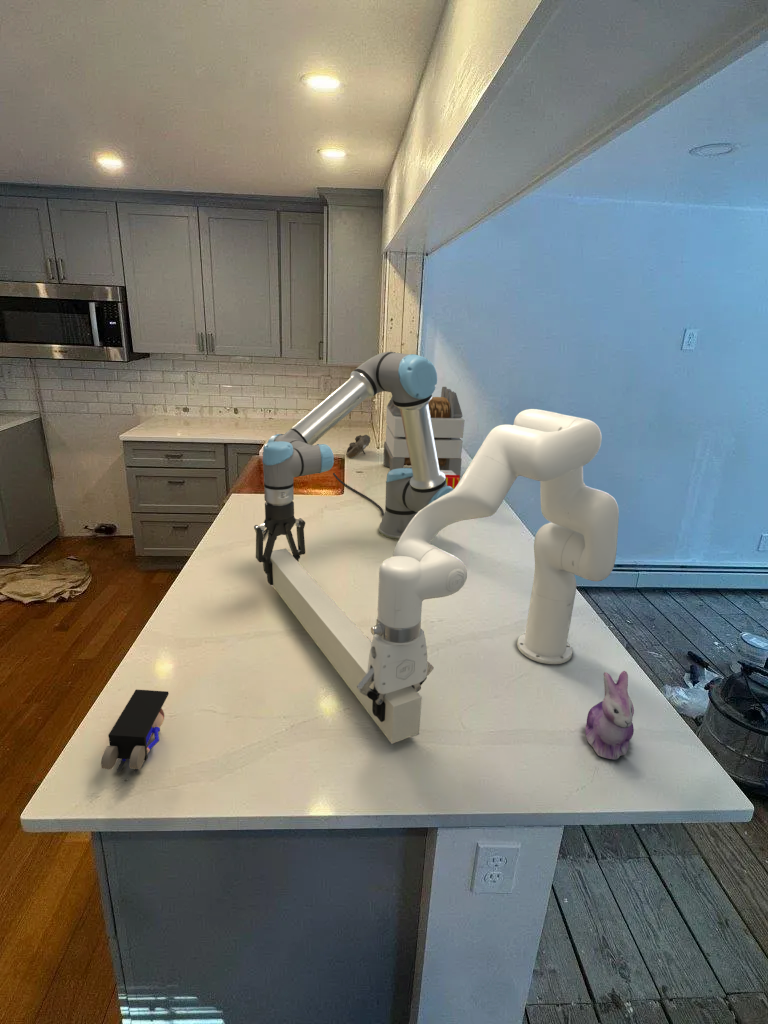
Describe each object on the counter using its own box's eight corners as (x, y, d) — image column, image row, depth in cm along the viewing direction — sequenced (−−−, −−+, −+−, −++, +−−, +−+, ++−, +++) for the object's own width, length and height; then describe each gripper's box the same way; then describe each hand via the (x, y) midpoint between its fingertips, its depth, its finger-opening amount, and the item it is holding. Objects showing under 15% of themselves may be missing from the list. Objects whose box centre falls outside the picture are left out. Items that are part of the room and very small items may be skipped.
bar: (266, 578, 158) (265, 551, 156) (286, 574, 161) (285, 548, 158) (391, 744, 100) (393, 706, 98) (419, 733, 103) (421, 696, 100)
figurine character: (145, 787, 93) (174, 717, 107) (138, 755, 90) (169, 687, 103) (104, 787, 93) (138, 716, 107) (95, 754, 90) (132, 686, 103)
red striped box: (452, 466, 252) (464, 476, 223) (451, 496, 255) (462, 509, 226) (425, 465, 252) (433, 475, 222) (424, 495, 254) (431, 508, 225)
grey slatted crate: (382, 463, 289) (386, 382, 275) (445, 464, 293) (451, 384, 279) (390, 482, 257) (394, 392, 243) (460, 483, 261) (468, 394, 247)
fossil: (346, 440, 314) (367, 425, 309) (357, 454, 317) (378, 439, 312) (340, 454, 295) (362, 438, 290) (351, 468, 298) (374, 453, 293)
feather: (281, 515, 215) (284, 511, 215) (262, 541, 189) (264, 536, 188) (277, 512, 215) (280, 508, 215) (257, 538, 189) (260, 534, 188)
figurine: (612, 770, 99) (628, 699, 94) (570, 732, 108) (582, 666, 103) (649, 753, 104) (666, 685, 99) (605, 718, 112) (619, 654, 107)
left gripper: (247, 510, 141) (252, 593, 149) (318, 501, 149) (318, 579, 157) (239, 501, 147) (244, 581, 155) (307, 492, 156) (308, 569, 164)
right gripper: (364, 650, 91) (362, 740, 97) (452, 625, 99) (445, 709, 105) (344, 627, 97) (343, 713, 103) (428, 605, 105) (423, 686, 111)
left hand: (281, 580), depth 156 cm, fingers closed on bar, 6 cm apart
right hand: (394, 710), depth 104 cm, fingers closed on bar, 5 cm apart
